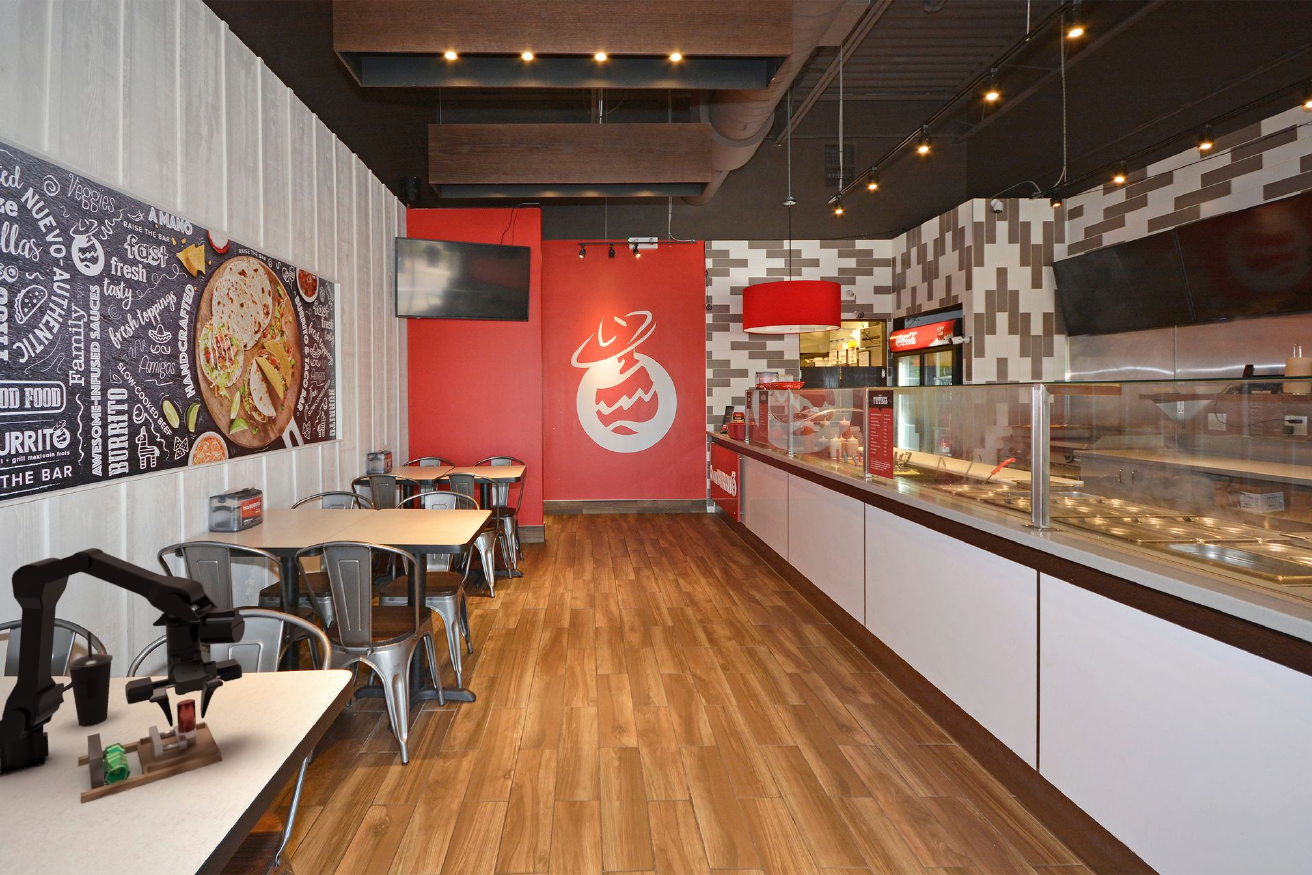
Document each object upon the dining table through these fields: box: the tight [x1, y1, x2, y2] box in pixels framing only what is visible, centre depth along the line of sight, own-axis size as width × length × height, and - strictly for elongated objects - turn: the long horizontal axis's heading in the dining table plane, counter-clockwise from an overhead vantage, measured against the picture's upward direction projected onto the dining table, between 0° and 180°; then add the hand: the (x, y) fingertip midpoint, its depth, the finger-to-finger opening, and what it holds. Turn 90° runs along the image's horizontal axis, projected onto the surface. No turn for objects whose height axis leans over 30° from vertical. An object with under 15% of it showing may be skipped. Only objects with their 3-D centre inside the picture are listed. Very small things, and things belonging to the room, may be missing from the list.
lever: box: [148, 698, 197, 764], centre depth 134 cm, size 7×10×8 cm
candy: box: [103, 742, 131, 785], centre depth 128 cm, size 12×3×4 cm
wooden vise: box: [77, 721, 223, 804], centre depth 132 cm, size 21×18×6 cm
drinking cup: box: [66, 631, 114, 727], centre depth 149 cm, size 8×8×20 cm
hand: (187, 721), depth 136 cm, fingers open, 5 cm apart
